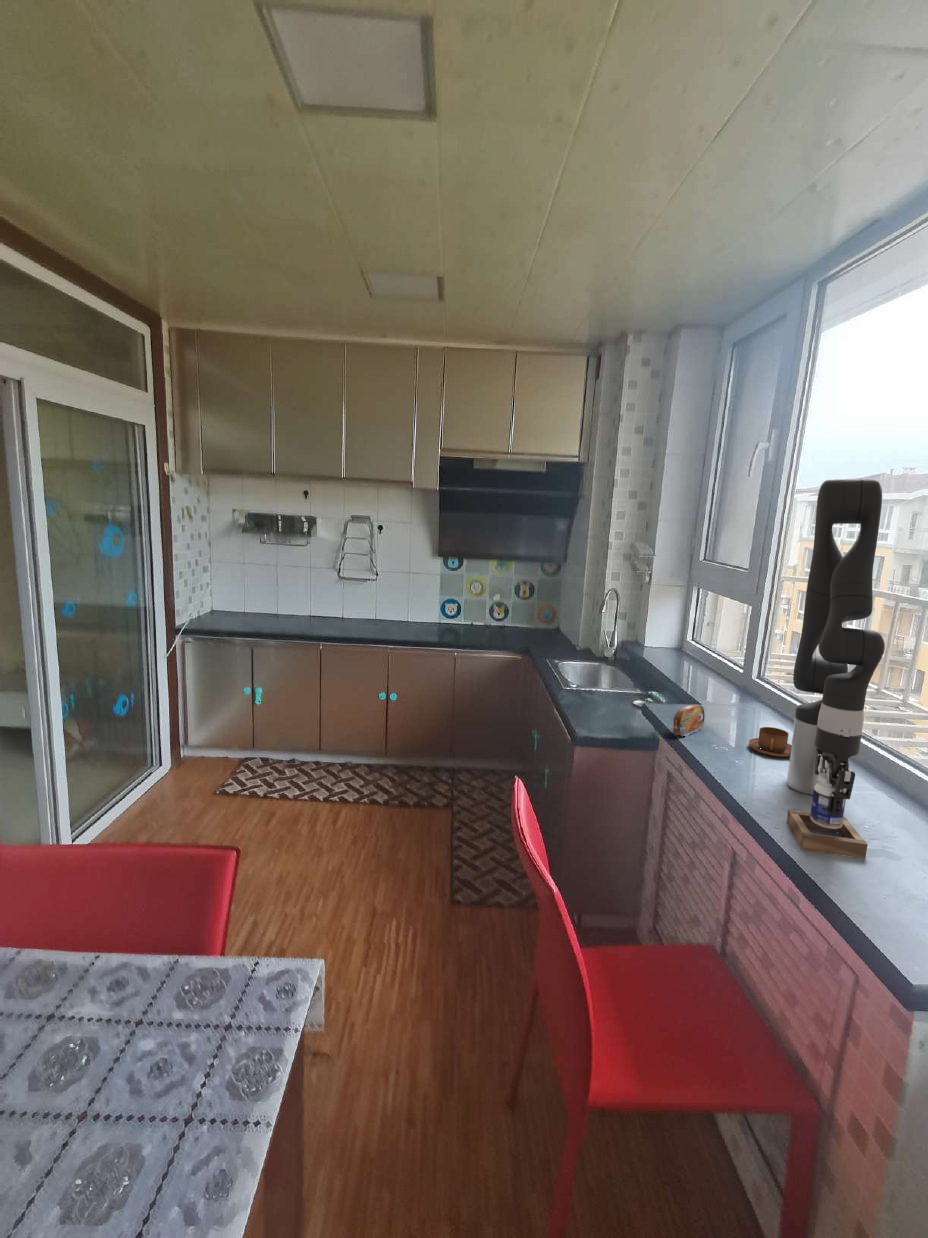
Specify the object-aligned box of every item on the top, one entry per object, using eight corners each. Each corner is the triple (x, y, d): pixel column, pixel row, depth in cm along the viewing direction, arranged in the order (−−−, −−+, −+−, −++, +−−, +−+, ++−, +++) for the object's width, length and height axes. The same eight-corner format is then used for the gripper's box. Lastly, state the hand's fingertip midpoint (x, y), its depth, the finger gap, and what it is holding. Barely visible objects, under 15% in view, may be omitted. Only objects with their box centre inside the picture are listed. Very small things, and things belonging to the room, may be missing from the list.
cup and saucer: (801, 762, 161) (804, 741, 160) (754, 758, 164) (757, 736, 162) (787, 746, 173) (789, 726, 172) (743, 742, 175) (745, 722, 174)
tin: (679, 740, 175) (682, 712, 174) (670, 737, 178) (672, 710, 176) (704, 729, 185) (706, 703, 184) (694, 726, 187) (697, 701, 186)
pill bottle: (812, 813, 124) (818, 768, 123) (844, 822, 121) (850, 776, 119) (807, 823, 120) (813, 777, 118) (840, 833, 116) (846, 785, 115)
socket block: (786, 823, 127) (788, 810, 127) (843, 830, 125) (845, 817, 124) (803, 850, 117) (805, 836, 116) (865, 858, 114) (867, 844, 114)
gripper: (806, 714, 125) (796, 789, 127) (831, 738, 111) (820, 821, 114) (846, 718, 123) (835, 794, 126) (876, 742, 109) (864, 827, 112)
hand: (828, 806), depth 120 cm, fingers closed on pill bottle, 5 cm apart
